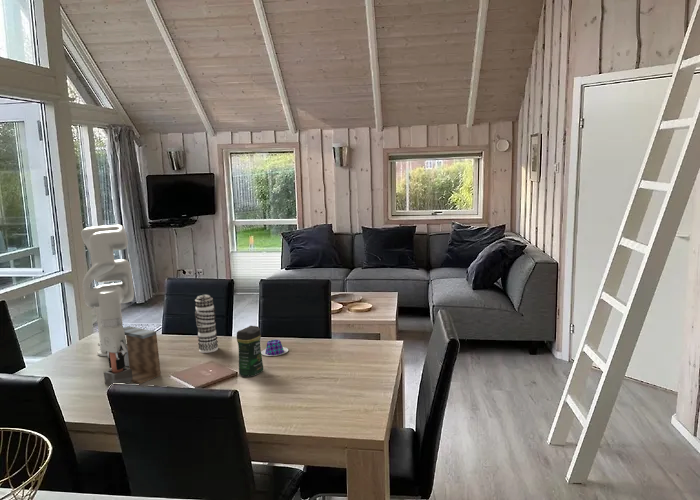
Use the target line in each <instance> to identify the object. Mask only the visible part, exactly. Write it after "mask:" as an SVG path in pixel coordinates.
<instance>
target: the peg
mask: <svg viewBox="0 0 700 500" xmlns="http://www.w3.org/2000/svg"><path fill="white" fill-rule="evenodd" d="M119 351H120V350H119ZM120 353H121V352H120ZM120 353H118V354H120ZM110 360H111V368H110V369H112V373H115V374H116V373H119V372H121V371H123V368H122V369H120V370H117V367H116V360H117V358H116V354H115V353H111V352H110Z"/></svg>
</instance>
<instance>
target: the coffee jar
mask: <svg viewBox="0 0 700 500" xmlns="http://www.w3.org/2000/svg"><path fill="white" fill-rule="evenodd" d="M261 338H262V333H261V329H260V327H259V326H257V325H249V326H247V327H243V328H242V329H240V330H237V331H236V342H237V346H238V347H237V348H238V373H239V376H242V377H245V378H248V377H255V376H257V375H259V374H260V373H262V372H263V371H264V364H263V357H262V356H263V355H262V354H261V351H262V349H261Z"/></svg>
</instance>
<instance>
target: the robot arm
mask: <svg viewBox="0 0 700 500" xmlns="http://www.w3.org/2000/svg"><path fill="white" fill-rule="evenodd" d="M80 235H81V236H80V237H81V239H82V242H83V243H84V245H85V247H86V249H87V250H88V252H89V255H90V262H91V263H90V264H91V267H90V268H89V269H88V271H87V272H86V273H85V275H84V277H83V280H82V293H83V301H84V304H85V306H86V307H88V308H91V309H92V308H94V309H95V313H96V315H95V316H96V322H97V329H98V330H97V331H98V338H99V343H97V346H98V347H99V348H100V349H99V350H97V351H96V352H97V355H98V356H100V357H107V358H108V367H109V369H112V368H111V360H110V352H111V353H115V354H116V358H117V360H116V367H117V370H120V369H122V368H125V367H126V366H125V363H124V358H125V354H127V350H126V344H127V340H126V335H125V333H124V325H123V324H124V323H123V315H122V305H121V304H127V303H130V302H133V300H134V299H135V291H134V284H133V275H132V273H133V272H132V268H131V264H130V262H129V261H128V260H127V259H123V258H122V259H115V255H114V252H115V251H122V250H126V249H127V248H128V244H129V240H128V235H127V232H126V229H125V228H124V226H123V225H121V224H111V225H97V226H89V227H85V228H83V229H82V230H81V232H80ZM93 281H95V282H97V283H106V284H100V285H96V286H95V287H94V288H93V287H92V288H91V284H92V283H93ZM118 281H119V282H118ZM110 282H114V283H110ZM115 282H116V283H115ZM119 350H120V351H119ZM120 352H121V353H120ZM118 353H120V354H118Z"/></svg>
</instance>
